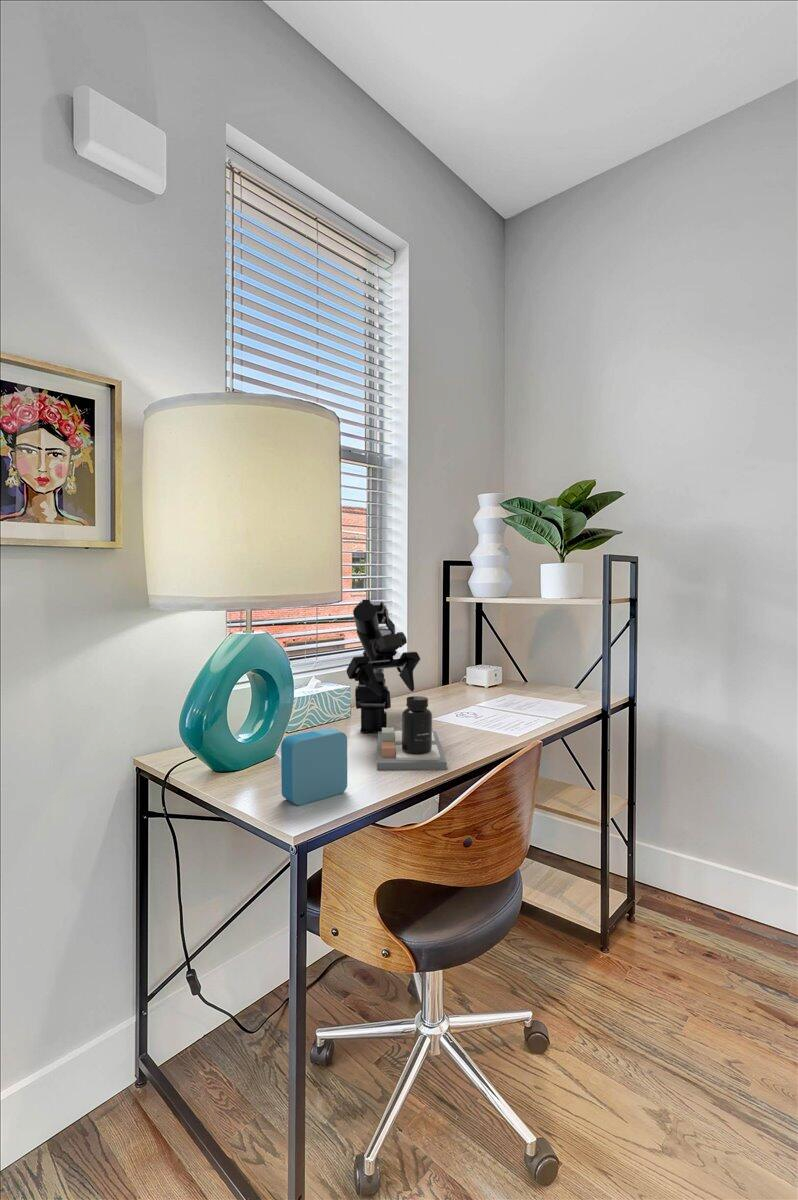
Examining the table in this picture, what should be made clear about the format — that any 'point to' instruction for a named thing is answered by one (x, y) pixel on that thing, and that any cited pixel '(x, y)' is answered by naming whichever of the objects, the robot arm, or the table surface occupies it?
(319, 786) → the blue rounded square block
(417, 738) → the supplement bottle
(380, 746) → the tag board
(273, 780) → the table surface
